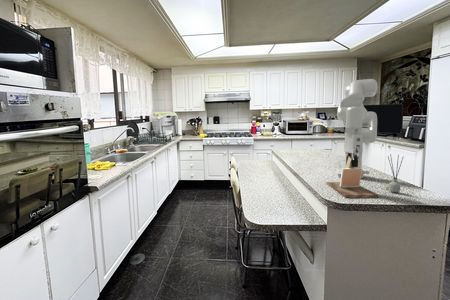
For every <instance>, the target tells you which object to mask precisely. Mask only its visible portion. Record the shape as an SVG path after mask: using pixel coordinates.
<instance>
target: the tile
mask: <svg viewBox="0 0 450 300" xmlns="http://www.w3.org/2000/svg"><path fill="white" fill-rule="evenodd" d="M362 170H363V168H362V167H361V168H345V167H343V168H341V173H340V174H341V179H340V178H339V180H340V188H357V187H359V185H360V184H361V179H362V178H361V173H362ZM360 186H361V185H360Z"/></svg>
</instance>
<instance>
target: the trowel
mask: <svg viewBox="0 0 450 300" xmlns="http://www.w3.org/2000/svg"><path fill="white" fill-rule="evenodd" d="M351 159H352V156H349V157H348V160H347V164H346V168H355V167H351ZM337 177H338V179H339V180H340V179H341V173H338V174H337Z"/></svg>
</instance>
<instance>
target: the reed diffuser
mask: <svg viewBox="0 0 450 300" xmlns="http://www.w3.org/2000/svg"><path fill="white" fill-rule="evenodd" d="M399 157H400V155H399V154H397V159H399ZM387 158H388V161H389V164H390V165H389V166H390V170H391V172H392V173H391V174H392V176H393V177H392V181H391V182H389V183H388V185H386V186H385V190H387V191H389V192H392V193H400V191H401V184H400V183H399V182H398V175H399V172H400V168H401V166H402V164H403V159H404V157H402V158H401V161H400V165H399V160H397V162H396V163H397V164H396V169H397V170H396V173H395V171H394V165H393V159H392V158H393V157H392V154H391V153H390V157H389V156H387ZM398 165H399V167H398Z"/></svg>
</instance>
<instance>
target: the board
mask: <svg viewBox="0 0 450 300" xmlns="http://www.w3.org/2000/svg"><path fill="white" fill-rule="evenodd" d="M325 183H326V184H325ZM324 184H325V185H327V186H328V187H329V188H331V189H332V188H333V189H332V190H334V191H335V192H336V191H337V193H338V194H339V195H341V196H342V197H343V198H345V199H365V198H367V199H370V198H371V199H372V198H373V199H376V198H377V199H378V198H379V197H380V196H379V193H377V192H374V191H372V190H370V189H368V188H366V187H364V186H362V185H359V187H357V188H340V182H339V181H337V182H336V181H334V182H333V181H331V182H329V181H328V182H324Z"/></svg>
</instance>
